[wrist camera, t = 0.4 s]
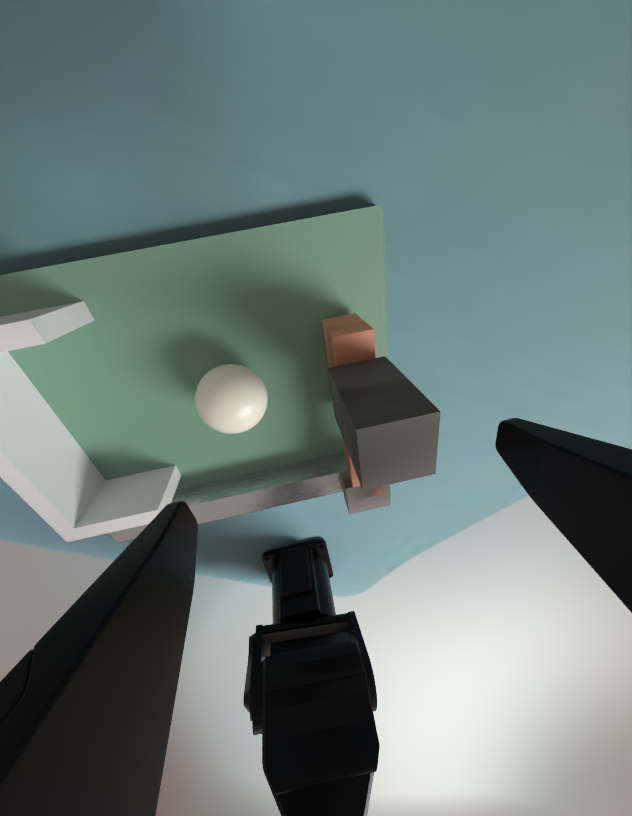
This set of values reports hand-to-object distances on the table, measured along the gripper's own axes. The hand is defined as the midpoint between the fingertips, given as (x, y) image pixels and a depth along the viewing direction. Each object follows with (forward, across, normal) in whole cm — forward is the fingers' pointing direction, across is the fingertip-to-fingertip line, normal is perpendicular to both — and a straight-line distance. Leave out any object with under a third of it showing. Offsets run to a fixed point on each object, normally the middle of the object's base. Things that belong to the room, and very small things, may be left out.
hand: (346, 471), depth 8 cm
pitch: (+12, +6, +2) cm, 14 cm away
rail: (+11, +6, +10) cm, 16 cm away
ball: (+9, +5, +1) cm, 11 cm away
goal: (+11, +14, +1) cm, 18 cm away
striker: (+11, -2, +5) cm, 12 cm away
